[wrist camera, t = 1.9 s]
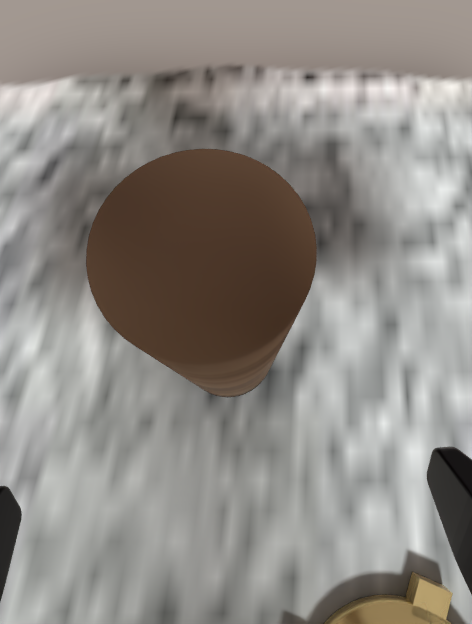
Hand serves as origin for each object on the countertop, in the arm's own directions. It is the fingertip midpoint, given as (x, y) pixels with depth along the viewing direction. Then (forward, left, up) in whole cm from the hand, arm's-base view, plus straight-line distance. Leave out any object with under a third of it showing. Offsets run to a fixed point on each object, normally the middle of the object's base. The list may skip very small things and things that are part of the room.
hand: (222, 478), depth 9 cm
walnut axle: (+4, +2, -11) cm, 12 cm away
